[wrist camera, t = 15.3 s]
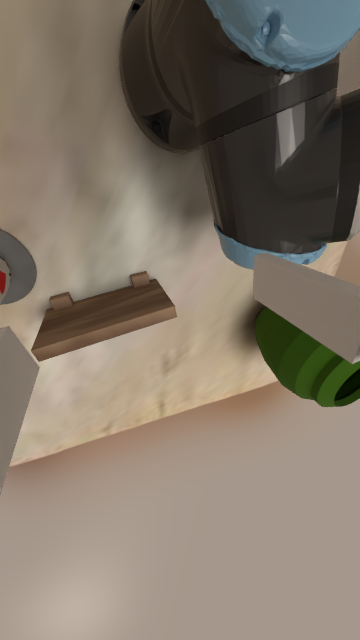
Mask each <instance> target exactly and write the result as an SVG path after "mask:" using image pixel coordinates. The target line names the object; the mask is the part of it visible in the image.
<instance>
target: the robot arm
mask: <svg viewBox="0 0 360 640" xmlns="http://www.w3.org/2000/svg"><path fill="white" fill-rule="evenodd" d="M359 29H360V0H133V2H132V4H131V6H130V9H129V11H128V14H127V17H126V20H125V24H124V29H123V34H122V39H121V46H120V74H121V81H122V87H123V91H124V95H125V98H126V101H127V104H128V107H129V109H130V111H131V113H132V115H133V117H134V119H135V121H136V123H137V124H138V126H139V127H140V129H141V130H142V131H143V132H144V134H145V135H146V136H147V137H148V138H149V139H150V140H151V141H153V142H154V143H155V144H157V145H158V146H160V147H161V148H163V149H166V150H168V151H172V152H188V151H192V150H194V149H197V148H199V151H200V156H201V160H202V165H203V169H204V174H205V178H206V183H207V187H208V192H209V197H210V202H211V207H212V212H213V217H214V227H215V230H216V231H217V233H218V236H219V240H220V244H221V248H222V250H223V252H224V254H225V256H226V257H227V258H228V259H230V260H231V261H233V262H234V263H235V264H237V265H239V266H242V267H244V268H248V269H252V270H254V279H253V298H254V299H256V300H257V301H259V302H260V303H262V304H263V305H265V306H266V307H268V308H269V309H271V310H272V311H274V312H275V313H277V314H278V315H280V316H281V317H283V318H284V319H286V320H287V321H289V322H290V323H292V324H293V325H295V326H296V327H298V328H299V329H301V330H302V331H304V332H305V333H307V334H308V335H310V336H311V337H313V338H314V339H316V340H317V341H319V342H320V343H322V344H323V345H325V346H326V347H327V348H329V349H330V350H332V351H333V352H335V353H336V354H338V355H339V356H341V357H342V358H344V359H345V360H347V361H348V362H350V363H351V364H354V363H356V362H358V361H360V286H358V285H355V284H352V283H350V282H347V281H344V280H341V279H338V278H336V277H333V276H330V275H327V274H324V273H322V272H319V271H316V270H313V269H310V268H308V267H305V266H302V265H301V264H310V263H312V262H314V261H315V260H317V259H318V258H319V257H320V256H321V254H322V253H323V251H324V250H325V248H326V247H327V243H332V242H340V241H348V240H350V239H352V238H353V237H354V236H355V235H356V234H357V233H358V232H360V89H358V90H355V91H353V92H350V93H348V94H345V95H343V96H340V97H338V96H337V89H335V88H337V81H338V69H339V57H340V51H341V50H342V49H343V48H345V47H346V45H347V44H348V42H349V41H350V40H351V39H352V37H353V36H354V35H355V34H356V33H357V32H358V30H359ZM333 89H335V90H333ZM331 90H332V91H331ZM329 91H330V92H329ZM279 112H280V113H279ZM274 114H275V115H274ZM269 116H270V117H269ZM267 117H268V118H267ZM262 119H263V120H262ZM257 121H258V122H257ZM255 122H256V123H255ZM250 124H251V125H250ZM248 125H249V126H248ZM243 127H244V128H243ZM238 129H239V130H238ZM236 130H237V131H236ZM231 132H232V133H231ZM229 133H230V134H229ZM226 134H227V135H226ZM224 135H225V136H224ZM219 137H220V138H219ZM217 138H218V139H217ZM212 140H213V141H212ZM209 141H211V142H209ZM39 368H40V367H39V366H38V365H37V363H36V362H35V361H34V359H33V358H32V357H31V355H30V354H29V353H28V351H27V350H26V348H25V347H24V346H23V344H22V343H21V342H20V340H19V339H18V338H17V336H16V335H15V334H14V332H13V331H12V330H11V328H10V327H9V326H7V327H4V328H0V494H1V490H2V487H3V484H4V481H5V477H6V474H7V471H8V468H9V465H10V461H11V458H12V455H13V452H14V449H15V445H16V442H17V439H18V436H19V432H20V429H21V426H22V423H23V419H24V416H25V413H26V410H27V407H28V403H29V400H30V397H31V394H32V390H33V387H34V384H35V381H36V377H37V374H38V371H39Z"/></svg>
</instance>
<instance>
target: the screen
mask: <svg viewBox="0 0 360 640" xmlns="http://www.w3.org/2000/svg"><path fill="white" fill-rule="evenodd" d="M130 276H131V280H132V283H133V286H129V287H126V288H122V289H118V290H115V291H111V292H108V293H104V294H101V295H97V296H94V297H90V298H87V299H83V300H79V301H76V302H73V300H72V298H71V296H70V294H69V292H68V293H64V294H60V295H57V296H53V297H51V298H50V300H49V301H50V303H51V305H52V307H53V308H51V309H48V310H47V312H46V314H45V317H44V319H43V322H42V324H41V327H40V329H39V332H38V334H37V337H36V339H35V342H34V344H33V347H32V349H31V352H32V353H33V354H34V356H35V357H36V358H37V360H38V361H39V362H40V361H43V360H46V359H49V358H52V357H55V356H58V355H61V354H64V353H67V352H70V351H74V350H77V349H80V348H83V347H86V346H89V345H92V344H95V343H98V342H101V341H104V340H108V339H111V338H114V337H117V336H120V335H123V334H126V333H129V332H132V331H135V330H138V329H142V328H145V327H148V326H151V325H154V324H157V323H160V322H163V321H166V320H169V319H172V318H176V317H177V314H176V309H175V305H174V304H173V303H172V301H171V300H170V298H169V297H168V295H167V294H166V293H165V291H164V290H163V288H162V287H161V285H160V284H159V283H158V281H157V280H156V279H154V280H150V281H149V277H148V274H147V272H146V271H145V272H141V273H137V274H134V275H130Z"/></svg>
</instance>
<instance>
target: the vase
mask: <svg viewBox="0 0 360 640" xmlns="http://www.w3.org/2000/svg"><path fill="white" fill-rule="evenodd" d="M255 335H256V341H257V344H258V346H259V348H260V351H261V353H262V355H263V358H264V360H265V362H266V363H267V364H268V366H269V367H270V369H271V370H272V372H273V373H274V374H275V376H276V377H277V379H278V380H279V381H280V383H281V384H282V385H283V386H284V387H286V388H287V389H289V390H290V391H292V392H293V393H295V394H296V395H298V396H299V397H301V398H304V399H310V400H315V401H316V402H317V403H318V404H319V405H321V406H322V407H335V406H336V407H337V406H339V407H340V406H345V405H348V404H351V403H352V402H354V401H356V400H357V399H359V398H360V361H358V362H356V363H354V364H351V363H350V362H348V361H347V360H345V359H344V358H342V357H341V356H339V355H338V354H336V353H335V352H333V351H332V350H330V349H329V348H327V347H326V346H325V345H323V344H322V343H320V342H319V341H317V340H316V339H314V338H313V337H311V336H310V335H308V334H307V333H305V332H304V331H302V330H301V329H299V328H298V327H296V326H295V325H293V324H292V323H290V322H289V321H287V320H286V319H284V318H283V317H281V316H280V315H278V314H277V313H275V312H274V311H272V310H271V309H269V308H268V307H265V308H264V309H262V311H261V312H260V313H259V314H258V316H257V318H256V322H255Z"/></svg>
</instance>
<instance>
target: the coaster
mask: <svg viewBox="0 0 360 640" xmlns="http://www.w3.org/2000/svg"><path fill="white" fill-rule="evenodd" d="M0 255H1V256H3V257H4V258H5V259H6V261H7V262H8V264H9V266H10V271H11V281H10V284H9V287H8V291H7V293H6V295H5V297H4V298H3V300H2V301H1V303H0V305H2V304H9V303H13V302H16V301H18V300H20V299H22V298H23V297H25V296H26V295H27V294H28V293H29V292H30V291H31V290H32V288H33V286H34V284H35V281H36V276H37V271H36V266H35V262H34V260H33V258H32V256H31V254H30V253H29V251H28V250H27V249H26V247H25V246H24V245H23V244H22V243H21V242H20V241H18V240H17V239H16V238H15V237H13V236H12V235H10V234H9V233H7V232H5V231H3V230H1V229H0Z"/></svg>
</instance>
